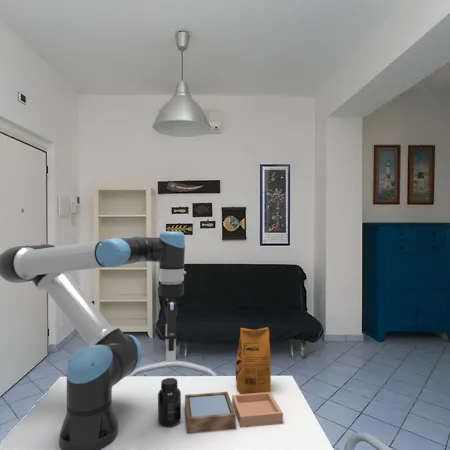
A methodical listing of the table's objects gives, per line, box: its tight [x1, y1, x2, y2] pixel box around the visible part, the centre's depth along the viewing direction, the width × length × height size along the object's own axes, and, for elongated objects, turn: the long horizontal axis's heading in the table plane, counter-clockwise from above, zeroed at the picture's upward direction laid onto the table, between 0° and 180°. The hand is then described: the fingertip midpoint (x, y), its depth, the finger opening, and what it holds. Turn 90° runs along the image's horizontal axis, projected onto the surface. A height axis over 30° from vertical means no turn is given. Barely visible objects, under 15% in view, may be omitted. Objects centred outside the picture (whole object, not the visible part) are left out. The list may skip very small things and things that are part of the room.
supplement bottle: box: [157, 377, 182, 428], centre depth 101 cm, size 7×7×12 cm
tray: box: [231, 391, 284, 428], centre depth 106 cm, size 13×13×3 cm
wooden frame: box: [184, 391, 237, 434], centre depth 103 cm, size 14×14×4 cm
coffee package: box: [235, 327, 272, 394], centre depth 122 cm, size 10×12×22 cm
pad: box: [189, 395, 230, 417], centre depth 103 cm, size 11×11×1 cm
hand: (170, 352), depth 102 cm, fingers open, 13 cm apart
